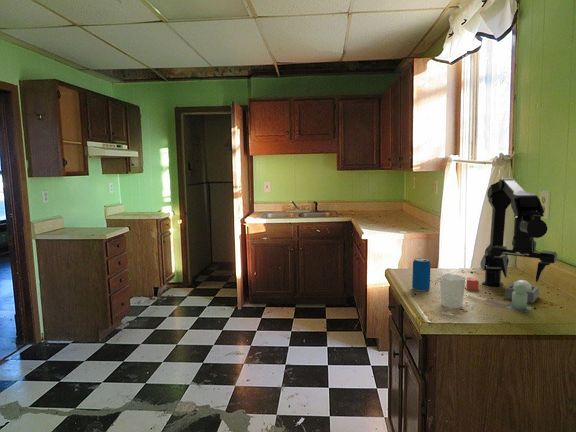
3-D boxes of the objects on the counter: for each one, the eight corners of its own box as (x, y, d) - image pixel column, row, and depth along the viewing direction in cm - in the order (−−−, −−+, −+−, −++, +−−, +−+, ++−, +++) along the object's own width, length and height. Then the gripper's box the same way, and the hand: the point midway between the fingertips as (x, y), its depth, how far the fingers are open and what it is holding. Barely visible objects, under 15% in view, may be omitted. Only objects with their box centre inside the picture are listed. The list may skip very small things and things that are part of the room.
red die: (466, 287, 163) (466, 276, 162) (477, 288, 161) (478, 277, 161) (466, 290, 159) (467, 279, 159) (478, 291, 158) (478, 279, 157)
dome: (514, 292, 153) (515, 277, 153) (532, 296, 149) (533, 279, 149) (510, 296, 149) (511, 280, 148) (529, 300, 145) (530, 283, 144)
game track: (468, 296, 152) (468, 295, 152) (532, 308, 139) (532, 307, 139) (462, 300, 147) (462, 299, 147) (527, 313, 134) (527, 312, 134)
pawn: (513, 304, 142) (514, 281, 141) (528, 307, 139) (529, 283, 138) (510, 308, 138) (511, 284, 137) (524, 310, 135) (526, 286, 134)
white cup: (461, 311, 137) (462, 281, 136) (436, 306, 141) (437, 278, 140) (465, 304, 144) (466, 276, 142) (442, 300, 148) (442, 273, 146)
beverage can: (430, 292, 157) (431, 261, 155) (412, 291, 158) (413, 260, 157) (428, 287, 163) (429, 257, 162) (411, 286, 164) (412, 257, 163)
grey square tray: (510, 292, 155) (511, 282, 155) (538, 297, 150) (539, 287, 149) (504, 298, 149) (505, 287, 148) (532, 304, 143) (533, 292, 142)
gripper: (561, 232, 135) (558, 279, 137) (499, 227, 148) (497, 270, 149) (555, 237, 127) (552, 286, 129) (490, 231, 139) (488, 276, 141)
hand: (521, 279), depth 137 cm, fingers open, 9 cm apart
